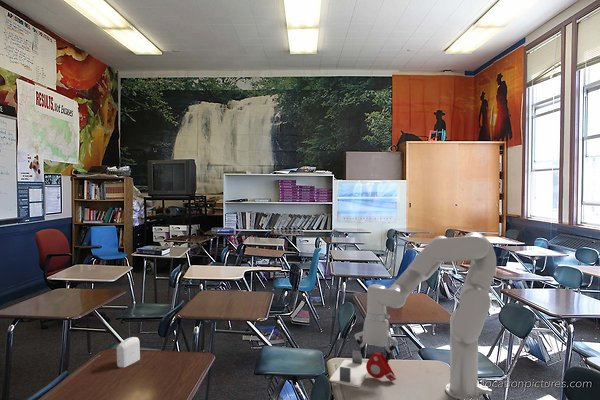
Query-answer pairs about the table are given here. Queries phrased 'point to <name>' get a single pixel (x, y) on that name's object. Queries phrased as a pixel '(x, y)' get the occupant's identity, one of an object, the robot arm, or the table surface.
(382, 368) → the red curved piece
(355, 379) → the board
